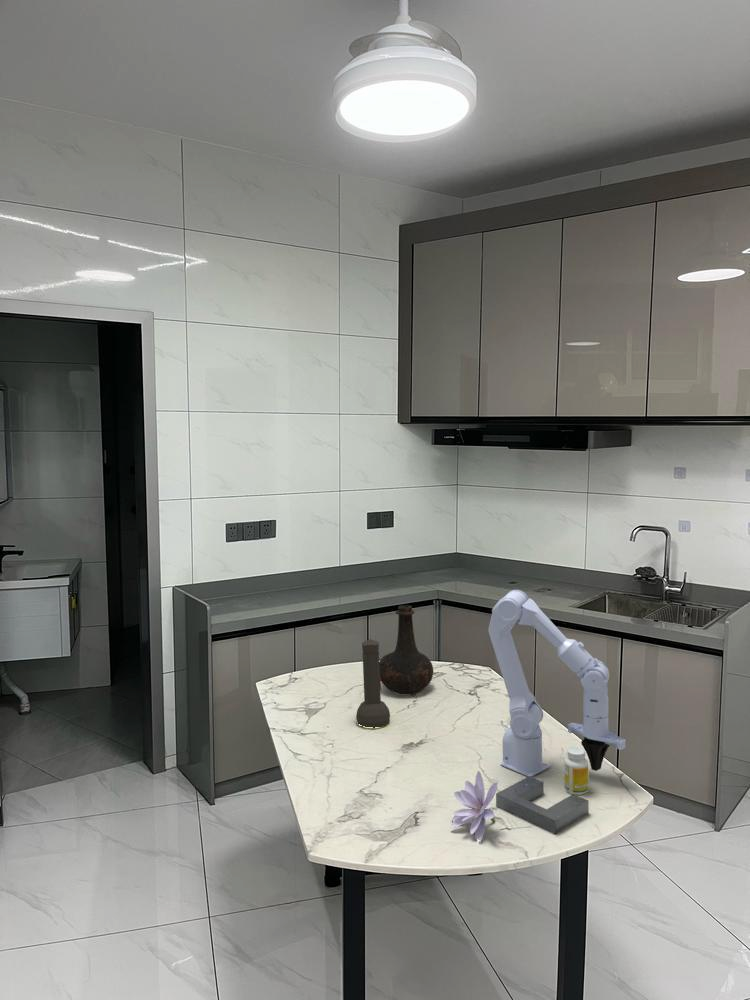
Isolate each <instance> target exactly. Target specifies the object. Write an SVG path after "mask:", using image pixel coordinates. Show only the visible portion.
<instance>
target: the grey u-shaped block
mask: <svg viewBox="0 0 750 1000" xmlns="http://www.w3.org/2000/svg"><path fill="white" fill-rule="evenodd" d="M544 783H545V782H544V781H543V780H541V779H538V778H535V777H534V776H532V777H531V776H529V777H528V776H526V777H525V778H523V779H521V780H519V781H518V782H515V783H513V784H511V785H509V786H508V787H506V788H504V789H502V790H500V791H498V792H495V801H496V802H495V806H496V807H497V808H498V809H500V810H503V811H505V812H507V813H510V814H512V815H514V816H516V817H518V818H520V819H523V820H525V821H526V822H528V823H530V824H533V825H535V826H537V827H538V828H539V827H540V828H541V829H543V830H546V831H548V832H549V833H552V834H554V835H556V834H558V833H559V832H561V831H563V830H565V829H566V828H568V827H570V826H571V825H573V824H574V823H576V822H577V821H579V820H580V819H582V818H584V817H585V816H587V815H588V814H589V810H590V807H589V800H588V799H586V798H583V797H582V796H580V795H574V794H570V795H569V796H567V797H565V798H563V799H562V800H560V801H559V802H556V803H555V804H553V805H552V806H550V807H548V808H545V807H543V806H541V805H538V804H536V803H533V802H532V801H534V800H536V799H538V798H539V797H542V796H543V795H545V788H544V787H545V785H544Z"/></svg>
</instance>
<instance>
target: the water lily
mask: <svg viewBox="0 0 750 1000" xmlns="http://www.w3.org/2000/svg"><path fill="white" fill-rule="evenodd" d="M484 784H485V783H484V779H483V776H482V773H481V771H480V770H478V771H477V772H476V776H475V779H474V784H473V783H472V782H471V781H469V780H465V782H464V789H461V790H460V791H455V792H454V795H453V796H454V797H455V799H456V800H457V802H458V803H460V805H462V806H464V807H467V808H460V809H458V810H456V811H455V812H453V815H454V816H453V817H452V819H451V820H453V821H454V822H453V823H452V822H451V824H450V828H456V827H460V826H464V825H466V824H467V823H469V822H471V821H473V822H472V824H471V825H470V829H469V830H470V831H469V832H470V835H473V834H474V833H475V835H474V836H475V840H476V839H478V840H480V843H481V842H482V840H483V837H484V835H485V830H486V820H490V821H491V822H492V823H495V822H496V820H495V818H494V817H495V812H494V810H493V809H492V808H490V807H489V808H487V807H488V806H489V805H490V803H491V802H492V801H493V799H494V796H496V793H497V792H496V791H497V788H498V785H499V782H498V781H496V782H494V783H493V784H491V786H490V787H489V788H488V791H487V793H485V785H484ZM485 794H486V796H485Z"/></svg>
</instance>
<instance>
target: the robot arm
mask: <svg viewBox="0 0 750 1000" xmlns="http://www.w3.org/2000/svg"><path fill="white" fill-rule="evenodd" d="M490 617H491V618H490V621H489V625H488V635H489V637H490V641H491V643H492V647H493V650H494V653H495V657H496V660H497V663H498V666H499V669H500V673H501V676H502V680H503V682H504V685H505V688H506V691H507V695H508V697H509V703H508V704H509V707H508V708H509V710H508V712H509V714H510V721H509V728H507V729H506V730H505V731H504V734H503V736H502V761H501V763H500V765H501V766H502V767H505V768H507V769H509V770H511V771H514V772H516V773H519V774H521V775H524V776H525V777H529V776H531V777H534V776H536V775H537V774H539V773H541V772H543V771H545V770H547V769H549V768H550V764H549V763H548V764H547V763H546V762H543V731H542V728H541V726H540V723H541V722H542V721H543V718H544V711H543V708H542V707H541V706H540V704H539V703H538V702H537V701H536V698H535V695H534V694H533V693H532V692H531V691H530V689H529V685H528V683H527V679H526V676H525V673H524V670H523V666H522V664H521V660H520V658H519V655H518V654H519V653H518V651H517V647H516V645H515V641H514V639H513V634H512V633H511V631H512V630H513V627H514V626H515V624H516V623H517V621H518V620H519V622H518V625H520V626H532V628H534V629H535V630H536V631H537V632H539V634H541V635H542V636H543V637H544V638H545V639H546V640H547V641H548V642H549V643H551V645H553V646H554V647H555V648H556V650H557V657H558V658H559V659H560V660H561V661H562V662H563V663H564V664H565V665H566V666H567V668H569V669H570V670H571V671H572V672H573V673H574V674H575V675H576V676H577V677H578V678H580V684H581V687H583V695H582V698H583V699H582V700H583V701H582V706H583V708H582V709H583V711H582V712H583V715H582V716H583V717H582V718H583V724H582V723H581V724H580V723H576V722H573V721H572V722H571V723H568V724H567V732H568V733H570V734H573V733H574V734H577V735H579V736H582V737H584V738H583V740H581V744H580V745H581V746H582V747H583V749H584V750H585V754H586V755H587V758H588V760H589V761H588V762H589V764H590V769H591V770H593V771H596V772H598V771H599V770H601V768H602V765H603V761H604V758H605V756H606V753H607V750H608V749H609V747H610V746H612V747H615V748H616V749H617V750H620V751H622V750H624V749H626V739H624V738H621V737H620V736H617V735H616V734H615V733H613V732H611V731H609V696H608V693H609V689H608V682H609V680H610V670H609V668H608V667H607V665H606V663H604V662H603V661H600V660H598V658H597V657H595V658H594V657H593V656H592V655H591V654H590V653H589V652H588V651H587V650H586V649H585V648H584V646H585V645H584V643H583V642H582V641H577V639H573V638H572V639H571V638H567V637H566V636H565V635H564V633H562V631H560V630H561V629H559V628H558V627H557V626H556V625H555V624H554V623H553V622H552V620H551V619H550V618H549V617H548V616H547V614H545V613H544V612H543V611H542V610H541V608H540V607H539V605H537V603H536V602H535V600H533V599H532V598H529V597H528V595H527V594H526V592H524V591H523V590H520V589H513V590H510V591H508V592H507V593H506V595H505V596H503V597H502V598H501V599H499V600H498V601H497V602H496V604H495V605H494V606H493V608H492V609H491V616H490Z"/></svg>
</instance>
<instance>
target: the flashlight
mask: <svg viewBox="0 0 750 1000" xmlns="http://www.w3.org/2000/svg"><path fill="white" fill-rule="evenodd" d="M361 646H362V648H361V649H362V669H363V670H362V674H363V696H364V697H363V698H364V699H363V700H364V701H361V703H360V705H359V706H358V708H357V710H356V715H355V719H356V722H358V724H360V725H362V726H365V727H373V728H375V727H382V726H385V727H387V726H388V725H389V724H390V719H391V713H390V709H389V707H388V706H387V704H386V703H385V702H384V701H383V700H381V697H382V695H381V688H382V682H381V678H380V668H379V662H380V651H379V649H380V648H379V641H377V640H374V639H371V638H369V639H368V640H365V641H363V642H362V644H361ZM358 724H357V725H358ZM387 724H388V725H387ZM386 725H387V726H386ZM382 728H383V727H382Z"/></svg>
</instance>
